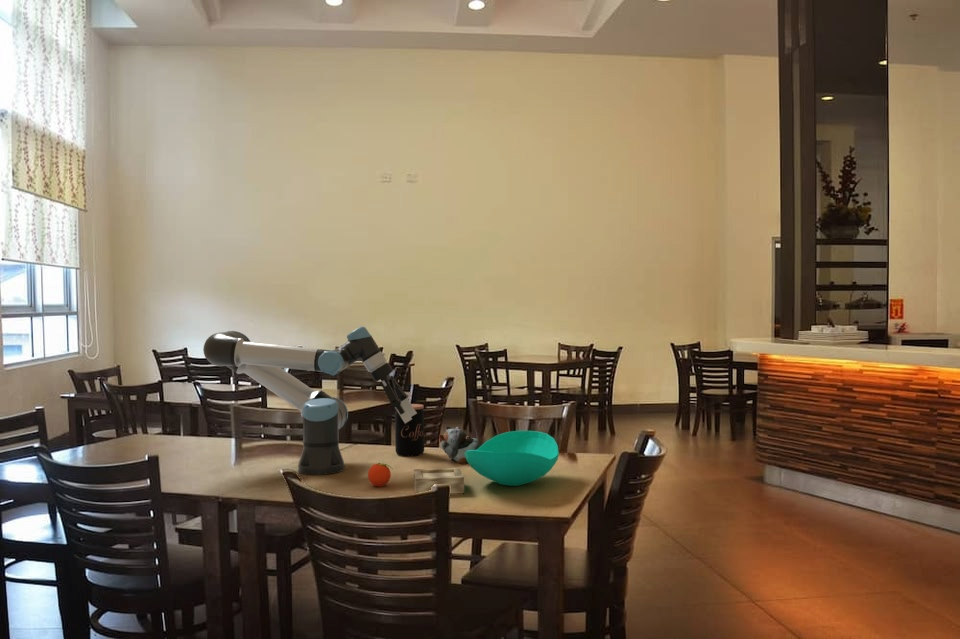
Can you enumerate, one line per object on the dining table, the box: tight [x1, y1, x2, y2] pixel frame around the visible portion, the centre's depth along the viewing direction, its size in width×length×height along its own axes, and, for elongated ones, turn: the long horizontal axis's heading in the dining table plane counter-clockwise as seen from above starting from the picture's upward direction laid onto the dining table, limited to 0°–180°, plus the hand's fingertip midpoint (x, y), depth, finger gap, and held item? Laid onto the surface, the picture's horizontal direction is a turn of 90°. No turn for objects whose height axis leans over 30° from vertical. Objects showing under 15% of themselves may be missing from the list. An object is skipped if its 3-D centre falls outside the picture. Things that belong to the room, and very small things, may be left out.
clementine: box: [367, 462, 393, 487], centre depth 240 cm, size 8×7×7 cm
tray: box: [413, 467, 465, 494], centre depth 235 cm, size 14×14×5 cm
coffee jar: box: [394, 403, 425, 457], centre depth 293 cm, size 11×11×18 cm
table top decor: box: [465, 430, 560, 487], centre depth 242 cm, size 40×28×13 cm
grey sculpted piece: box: [438, 426, 483, 465], centre depth 280 cm, size 15×12×14 cm
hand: (411, 418), depth 277 cm, fingers open, 13 cm apart
